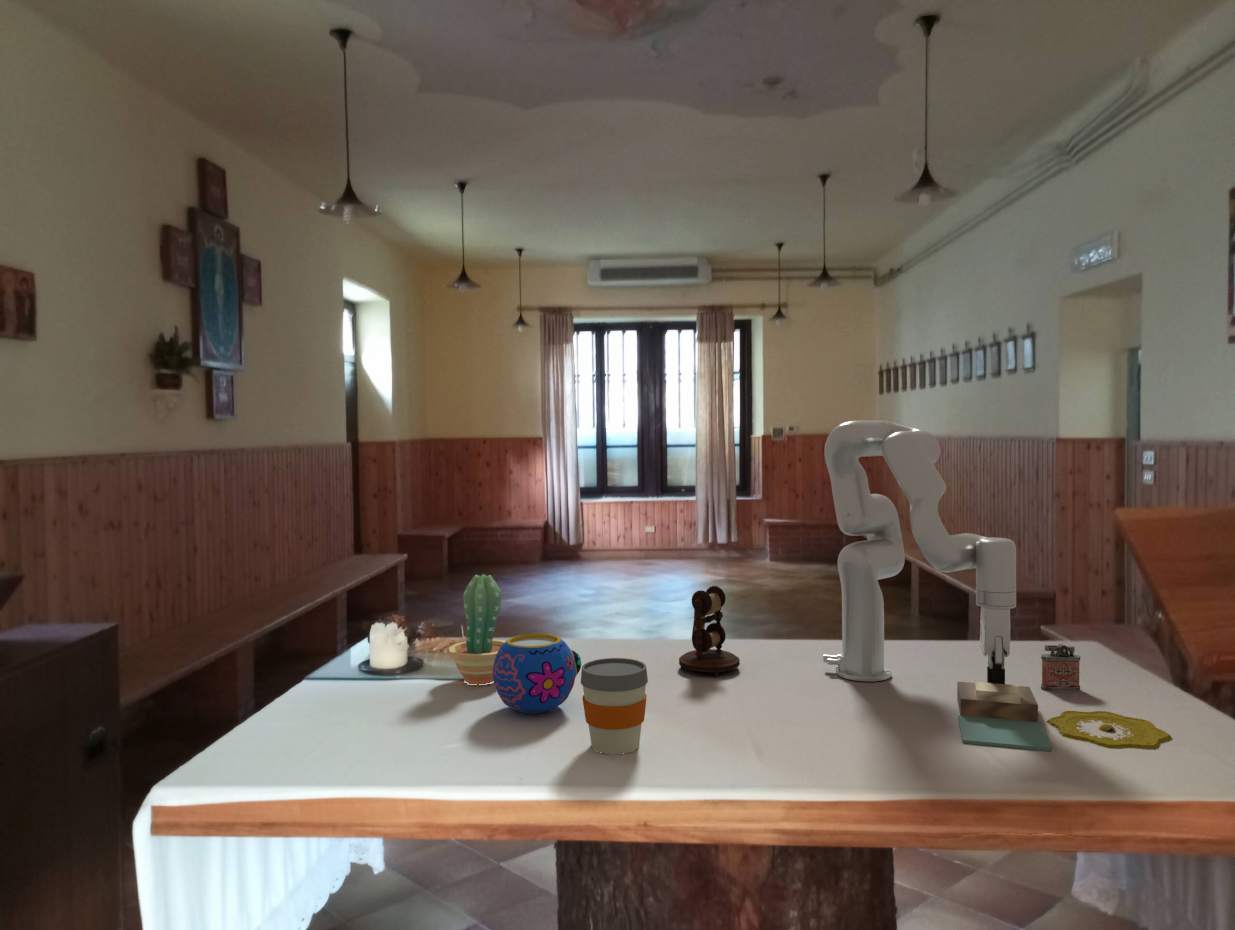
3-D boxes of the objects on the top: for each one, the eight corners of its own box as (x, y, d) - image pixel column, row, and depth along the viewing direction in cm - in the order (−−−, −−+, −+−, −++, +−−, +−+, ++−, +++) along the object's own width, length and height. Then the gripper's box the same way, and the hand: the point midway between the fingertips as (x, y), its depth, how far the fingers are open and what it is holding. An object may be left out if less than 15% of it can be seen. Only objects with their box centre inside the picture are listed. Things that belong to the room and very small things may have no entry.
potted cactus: (527, 676, 206) (525, 573, 205) (485, 693, 193) (482, 583, 192) (479, 667, 214) (476, 568, 213) (435, 683, 201) (432, 578, 200)
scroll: (698, 658, 220) (697, 580, 219) (750, 666, 211) (749, 586, 210) (667, 672, 208) (666, 590, 207) (721, 681, 199) (720, 596, 198)
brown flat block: (960, 718, 172) (960, 698, 171) (957, 699, 183) (957, 681, 183) (1037, 724, 167) (1037, 704, 167) (1029, 705, 179) (1029, 686, 178)
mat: (962, 742, 159) (962, 739, 159) (958, 718, 172) (958, 715, 172) (1052, 751, 154) (1052, 748, 154) (1040, 725, 167) (1040, 722, 167)
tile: (976, 700, 170) (976, 690, 170) (974, 691, 176) (974, 681, 176) (1020, 703, 168) (1020, 693, 168) (1017, 694, 173) (1017, 685, 173)
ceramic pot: (594, 707, 182) (592, 637, 182) (531, 730, 169) (529, 655, 169) (539, 691, 194) (537, 625, 193) (476, 711, 181) (474, 641, 180)
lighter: (1076, 687, 191) (1076, 642, 190) (1082, 691, 187) (1083, 646, 187) (1038, 686, 191) (1038, 642, 191) (1044, 691, 188) (1044, 646, 188)
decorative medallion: (1034, 713, 175) (1034, 706, 175) (1136, 715, 173) (1136, 708, 173) (1074, 749, 156) (1074, 742, 155) (1189, 752, 153) (1189, 744, 153)
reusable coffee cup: (626, 763, 152) (625, 680, 151) (568, 750, 158) (567, 670, 157) (661, 741, 162) (659, 662, 161) (605, 729, 169) (604, 654, 168)
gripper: (972, 590, 184) (973, 675, 184) (979, 604, 169) (979, 696, 170) (1011, 592, 181) (1011, 678, 182) (1021, 606, 167) (1021, 699, 168)
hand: (996, 686), depth 176 cm, fingers closed
